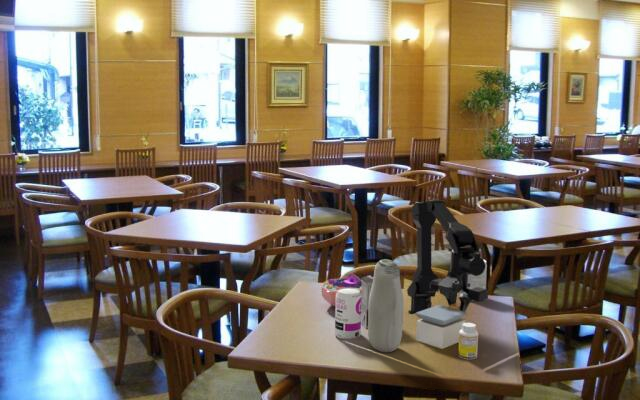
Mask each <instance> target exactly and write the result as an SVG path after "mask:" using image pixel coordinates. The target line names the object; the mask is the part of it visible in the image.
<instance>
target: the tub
mask: <svg viewBox="0 0 640 400" xmlns="http://www.w3.org/2000/svg"><path fill="white" fill-rule="evenodd" d="M466 321H467V320H466V319H463V318H461V319H458V320H456V321H453V322H450V323H448V324H445V325H440V324H436V323H433V322H429V321H426V320H423V319H421V318H420V319H418V320H416V325H415V326H416V327H415V328H416V331H415V341H417V342H419V343H423V344H426V345H430V346H431V347H435V348H438V349H441V350H442V349H445V348H448V347H451V346H453V345H455V344H457V343H458V344H459V331H460V330H461V329H462V324H463V323H466Z"/></svg>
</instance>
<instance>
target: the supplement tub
mask: <svg viewBox="0 0 640 400" xmlns="http://www.w3.org/2000/svg"><path fill="white" fill-rule="evenodd" d="M483 260H484V262H485V270H484V272H483V273H482V274H481V275H479V276H474V275H472V274H469V275H468V283H470V287H468V289H473V288H476V287H479V288H483V289H486V290H487V273H488V272H487V270H488V269H487V268H488V265H487V260H485V259H483ZM462 296H463V293H460V292H459V297H462ZM471 302H475V301H474V300H472V301H471Z"/></svg>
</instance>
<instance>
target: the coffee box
mask: <svg viewBox="0 0 640 400" xmlns="http://www.w3.org/2000/svg"><path fill="white" fill-rule="evenodd" d="M373 278H374V276H363V277H361V280H362V294H361V295H362V304H361V326H363V327H364V328H365V329H367V330H368V306H369V295H370V291H371V287H372V284H373Z"/></svg>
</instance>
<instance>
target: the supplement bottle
mask: <svg viewBox="0 0 640 400" xmlns="http://www.w3.org/2000/svg"><path fill="white" fill-rule="evenodd" d="M478 344H479V332H478V331H477V325H476V324H475V323H473V322H465V323H463V324H462V329H461V330H460V331H459V342H458V350H457V351H458V353H457V356H458V357H459V358H460V359H464V360H474V359H475V360H476V359H477V358H478V352H479V351H478V348H479V347H478V346H479V345H478Z"/></svg>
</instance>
